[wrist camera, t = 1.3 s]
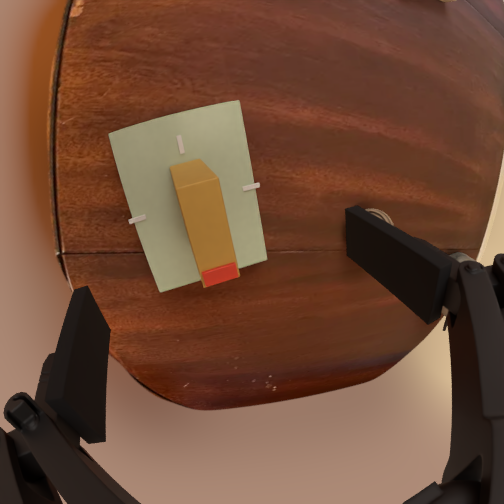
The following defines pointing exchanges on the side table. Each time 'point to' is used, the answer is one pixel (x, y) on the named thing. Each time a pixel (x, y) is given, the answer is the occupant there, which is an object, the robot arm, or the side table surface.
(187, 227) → the lock knob
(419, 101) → the side table surface
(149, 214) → the plate
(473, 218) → the side table surface
